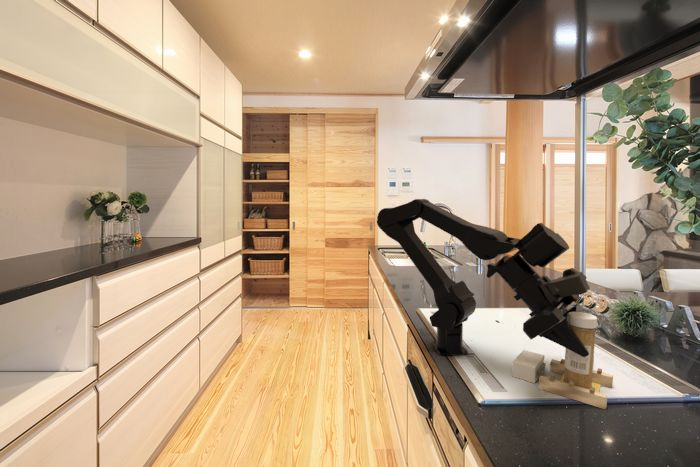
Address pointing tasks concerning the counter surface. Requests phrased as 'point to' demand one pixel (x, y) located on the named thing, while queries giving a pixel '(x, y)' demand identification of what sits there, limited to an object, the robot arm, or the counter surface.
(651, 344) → the counter surface
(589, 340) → the sprinkles bottle
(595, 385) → the band
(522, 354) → the block
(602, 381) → the guide channel
